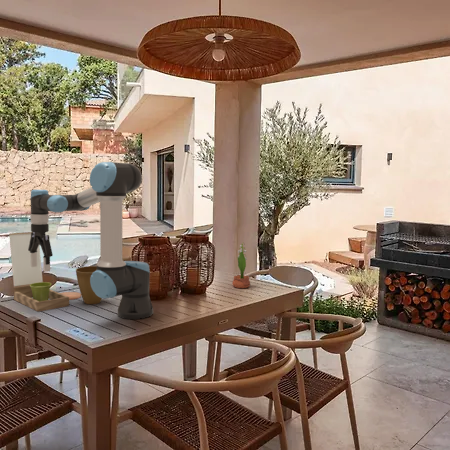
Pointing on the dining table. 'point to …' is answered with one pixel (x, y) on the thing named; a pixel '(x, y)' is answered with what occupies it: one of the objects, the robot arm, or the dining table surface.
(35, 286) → the plant pot
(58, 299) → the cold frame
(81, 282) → the plant pot
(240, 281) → the potted flower
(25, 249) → the frame lid
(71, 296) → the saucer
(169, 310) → the dining table surface
